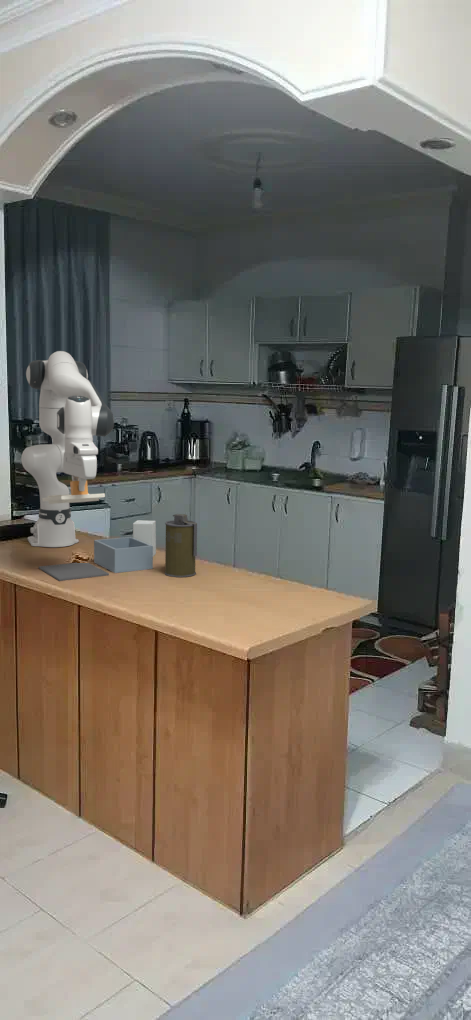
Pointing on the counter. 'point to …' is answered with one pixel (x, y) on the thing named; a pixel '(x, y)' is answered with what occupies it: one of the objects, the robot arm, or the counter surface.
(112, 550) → the grey storage box
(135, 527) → the supplement box
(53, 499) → the lid
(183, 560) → the canister
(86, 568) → the mat
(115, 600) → the counter surface
